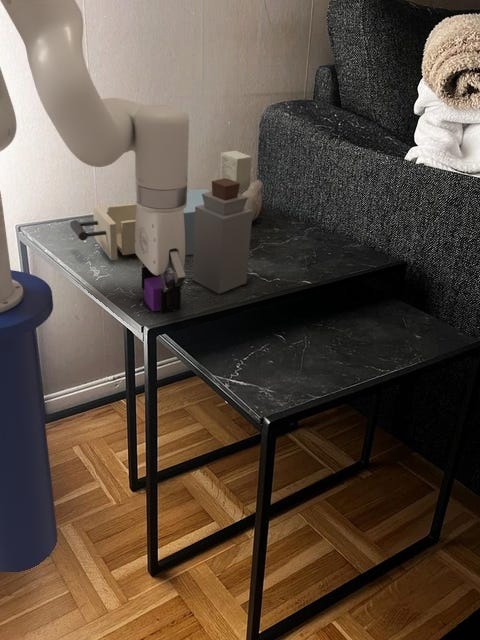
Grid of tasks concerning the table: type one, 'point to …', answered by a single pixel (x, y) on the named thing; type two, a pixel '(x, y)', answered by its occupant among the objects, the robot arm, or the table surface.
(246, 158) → the cosmetic box
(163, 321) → the table surface
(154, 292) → the purple rounded cube
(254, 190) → the decorative bird
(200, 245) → the perfume bottle
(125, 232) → the beige drawer
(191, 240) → the drawer cabinet
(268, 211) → the table surface
